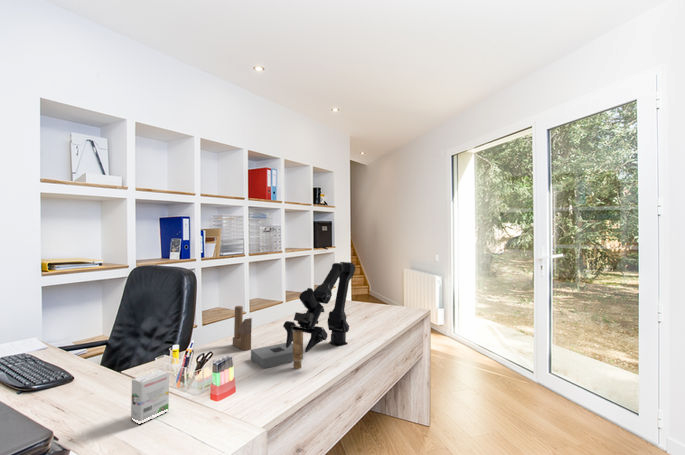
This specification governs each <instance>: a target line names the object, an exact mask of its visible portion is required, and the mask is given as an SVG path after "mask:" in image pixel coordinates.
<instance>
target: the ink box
mask: <svg viewBox="0 0 685 455" xmlns="http://www.w3.org/2000/svg"><path fill="white" fill-rule="evenodd" d="M169 402H170V372H167V371H165V370H162V369H159V370H155V371H153V372H149V373H147V374H144V375H141V376H139V377H135V378H133V379H131V404H130V406H131V407H130V408H131V409H130V410H131V411H130V412H131V413H130V419H131V418H133V419H135V420H138V421H142V420H144V419H146V418H148V417H150V416H152V415H155V414H157V413H159V412H161V411H164V410H166V409H168V410H169V406H170V405H169V404H170V403H169Z"/></svg>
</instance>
